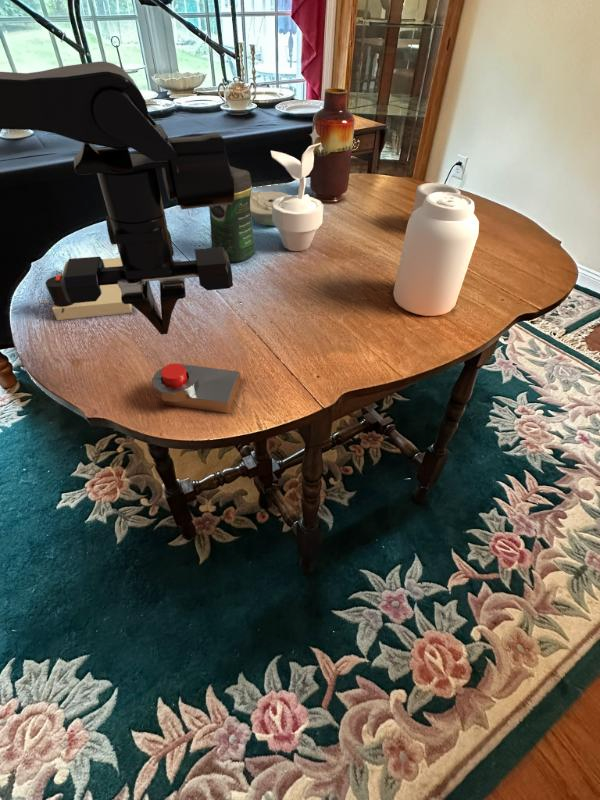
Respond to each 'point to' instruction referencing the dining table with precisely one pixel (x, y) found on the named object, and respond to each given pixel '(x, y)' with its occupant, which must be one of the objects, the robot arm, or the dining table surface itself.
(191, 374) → the block
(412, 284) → the white lidded jar
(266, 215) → the oil lamp
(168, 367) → the button
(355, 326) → the dining table surface
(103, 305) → the beige knob base panel
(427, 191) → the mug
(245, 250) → the coffee jar
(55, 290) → the knob
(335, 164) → the vase
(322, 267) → the dining table surface
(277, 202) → the potted plant
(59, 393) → the dining table surface
